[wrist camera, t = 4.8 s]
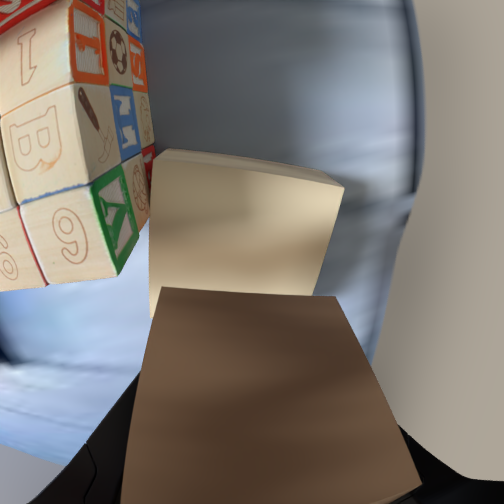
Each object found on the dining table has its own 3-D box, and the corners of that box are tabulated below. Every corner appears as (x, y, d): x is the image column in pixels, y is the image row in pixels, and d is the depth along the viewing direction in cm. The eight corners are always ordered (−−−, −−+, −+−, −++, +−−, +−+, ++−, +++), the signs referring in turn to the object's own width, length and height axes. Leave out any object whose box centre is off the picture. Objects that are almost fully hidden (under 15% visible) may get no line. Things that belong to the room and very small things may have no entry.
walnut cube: (335, 296, 8) (422, 484, 3) (296, 394, 11) (328, 530, 5) (161, 286, 8) (119, 515, 2) (169, 391, 10) (161, 538, 5)
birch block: (287, 292, 21) (299, 329, 18) (160, 280, 20) (150, 317, 16) (319, 169, 17) (344, 187, 13) (168, 147, 16) (153, 159, 12)
